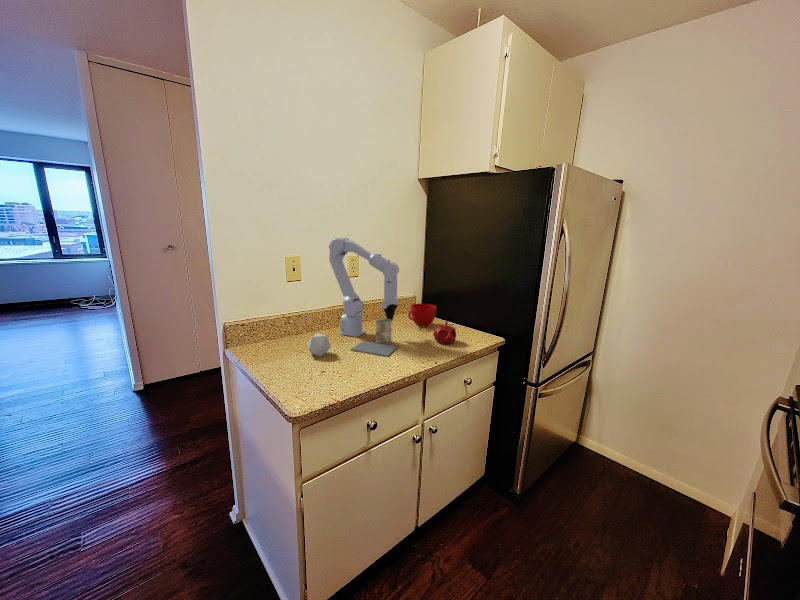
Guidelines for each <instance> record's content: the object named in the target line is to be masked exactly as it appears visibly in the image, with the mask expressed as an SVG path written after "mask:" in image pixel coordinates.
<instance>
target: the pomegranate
mask: <svg viewBox="0 0 800 600" xmlns="http://www.w3.org/2000/svg"><path fill="white" fill-rule="evenodd" d="M448 323H449V321H445V323H444V324H442V323H439V324H437V325H438V326H437V327H436V328H435V329H434V330H433V333H432V334H433V338H434V340H435V341H436V342H437V343H439V344H442V345H449V344H453V343H454V342H455V341H456V339H457V331H456V329H455V328H454V327H451V326H453V324H449V325H448Z"/></svg>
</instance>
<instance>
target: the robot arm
mask: <svg viewBox="0 0 800 600" xmlns="http://www.w3.org/2000/svg"><path fill="white" fill-rule="evenodd" d="M328 249H329V256H328V257H329V259H328V260H329V263H330V266H331V269H332V271H333V273H334V276H335V278H336V280H337V283H338V286H339V288H340V291H341V293H342V296H343V299H342V300H343V301H342V304H343V312H344V314H342V315H341V317H340V322H339V323H340V328H339V329H340V332H339V335H341V336H350V337H356V338H358V337H360V336H361V335H364V334H365V333H366V331H365V330H363V312H362V311H363V310H364V308H365V305H364V304H365V303H364V302H363V300H361V298H360V297H359V294H357V293H356V292H355V289H354V287H353V284H352V282H351V279H350V277H349V274H348V271H347V269H346V267H345V264H344V261H343V260H344V258H345V256H346V254H348V253H353V254H355V255H358V256H359V257H361V258H363V259H365V260H367V261H368V264H369V265H370V266H371V267H373V268H374V269H376V271H377V270H378V271H379V272H380V273H382V275H383V276H384V277H383V279H384V280H383V301H382V303H381V309H383V311H384V313H385V319H392V321H393V320H394V318H395V317H394V316H395V313H396V311H397V308H398V304H400V301H399V297H398V274H399V272H400V268H399V267H400V266H399V265H398V264H397V263H396V262H391V260H390V259H386V258H385V257H383V256H382V254H381V253H372V252H370V251H368V250H367V249H365V248H364V247H363V246H361V245H360V244H358V243H356V242H355V241H354V240H352V239H350V238H347V237H334V238H333V239H332V240H331V241H330V243H329V245H328Z"/></svg>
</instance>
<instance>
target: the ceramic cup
mask: <svg viewBox="0 0 800 600" xmlns="http://www.w3.org/2000/svg"><path fill="white" fill-rule="evenodd" d="M436 314H437V306H436V305H434V304H430V303H413V304H411V305H410V311H409V312H408V314H407V316H408V317H407V318H409V320H411V321H413V322H414V324H415V325H416V327H421V328H427V327H429V326H430V325H432V323H433V322H434V320H435V318H436Z"/></svg>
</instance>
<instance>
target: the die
mask: <svg viewBox="0 0 800 600" xmlns="http://www.w3.org/2000/svg"><path fill="white" fill-rule="evenodd" d="M306 343H307V348H308V351H309V353H311V354H312V355H314V356H317V357H319V358H322V356H324V355H325V354H326V353H327V352H328V351H329V350H330V349H331V348H332V347H331V344H330V340H329V338H328V336H327V335H325V334H322V333H318V332H317V333H315V335H313V336H312V337H311V338H310V339H308V340H307V341H306Z"/></svg>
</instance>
